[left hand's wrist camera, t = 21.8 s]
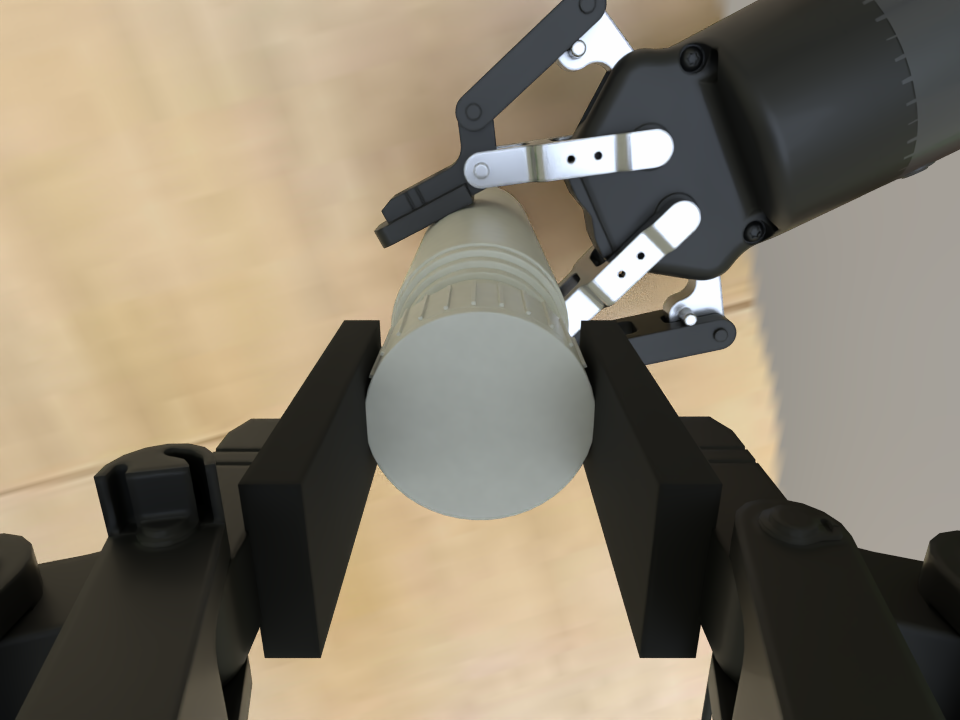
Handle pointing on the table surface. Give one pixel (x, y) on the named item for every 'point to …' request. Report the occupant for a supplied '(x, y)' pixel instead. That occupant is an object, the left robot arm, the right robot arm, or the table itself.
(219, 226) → the table surface
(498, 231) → the bottle
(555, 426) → the cap
